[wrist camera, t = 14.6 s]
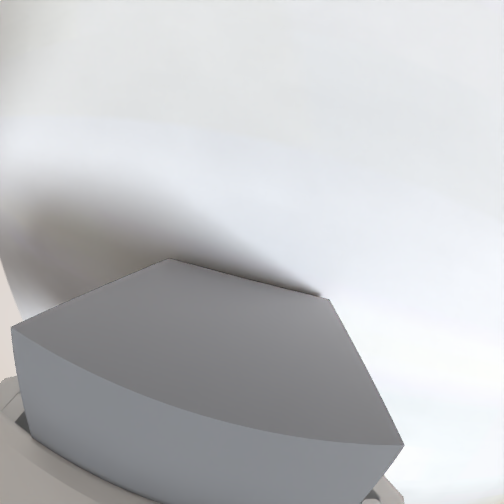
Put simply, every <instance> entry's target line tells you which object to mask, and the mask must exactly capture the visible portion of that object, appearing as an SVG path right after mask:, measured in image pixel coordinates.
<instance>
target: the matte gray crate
mask: <svg viewBox="0 0 504 504" xmlns="http://www.w3.org/2000/svg"><path fill="white" fill-rule="evenodd" d="M11 335H12V343H13V352H14V359H15V366H16V372H17V378H18V383H19V388H20V393H21V398H22V402H23V406H24V410H25V414H26V418H27V422H28V425H29V429H30V432H31V436H32V438H33V439H35V440H36V441H38V442H39V443H41V444H42V445H44V446H45V447H47V448H48V449H50V450H51V451H53V452H54V453H56V454H58V455H59V456H61V457H63V458H64V459H66V460H68V461H69V462H71V463H73V464H74V465H76V466H78V467H80V468H82V469H83V470H85V471H87V472H89V473H91V474H93V475H95V476H97V477H99V478H101V479H103V480H105V481H107V482H109V483H111V484H113V485H116V486H118V487H120V488H122V489H125V490H127V491H129V492H132V493H134V494H136V495H139V496H141V497H144V498H147V499H149V500H152V501H155V502H157V503H160V504H360V503H361V502H362V501H363V499H364V498H365V497H366V496H367V495H368V494H369V492H370V491H371V490H372V489H373V488H374V486H375V485H376V484H377V483H378V481H379V480H380V479H381V477H382V476H383V475H384V474H385V472H386V471H387V470H388V468H389V467H390V466H391V464H392V463H393V461H394V460H395V459H396V457H397V456H398V454H399V453H400V451H401V450H402V449H403V447H404V446H405V445H404V443H403V441H402V439H401V437H400V435H399V433H398V431H397V429H396V426H395V424H394V422H393V420H392V418H391V416H390V414H389V412H388V410H387V408H386V406H385V404H384V402H383V400H382V398H381V396H380V394H379V392H378V390H377V388H376V386H375V384H374V382H373V380H372V378H371V376H370V374H369V373H368V371H367V369H366V367H365V365H364V363H363V361H362V359H361V357H360V355H359V353H358V352H357V350H356V348H355V346H354V344H353V342H352V340H351V338H350V337H349V335H348V333H347V331H346V329H345V327H344V325H343V324H342V322H341V320H340V318H339V316H338V315H337V313H336V311H335V309H334V307H333V305H332V304H331V302H330V300H329V299H325V298H321V297H317V296H313V295H309V294H305V293H301V292H296V291H292V290H288V289H284V288H280V287H276V286H272V285H268V284H264V283H260V282H257V281H253V280H249V279H245V278H241V277H237V276H233V275H230V274H226V273H222V272H218V271H214V270H211V269H207V268H203V267H199V266H196V265H192V264H188V263H185V262H181V261H177V260H174V259H170V258H168V259H166V260H163V261H161V262H158V263H156V264H154V265H151V266H149V267H146V268H144V269H142V270H139V271H137V272H134V273H132V274H130V275H127V276H125V277H123V278H120V279H118V280H116V281H113V282H111V283H109V284H106V285H104V286H102V287H99V288H97V289H95V290H92V291H90V292H88V293H85V294H83V295H81V296H79V297H76V298H74V299H72V300H69V301H67V302H65V303H63V304H60V305H58V306H56V307H54V308H51V309H49V310H47V311H45V312H43V313H40V314H38V315H36V316H34V317H31V318H29V319H27V320H25V321H23V322H21V323H18V324H17V325H14V326H12V327H11Z"/></svg>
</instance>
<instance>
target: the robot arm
mask: <svg viewBox="0 0 504 504" xmlns="http://www.w3.org/2000/svg"><path fill="white" fill-rule="evenodd" d="M0 504H160V503H157V502H155V501H152V500H149V499H147V498H144V497H141V496H139V495H136V494H134V493H132V492H129V491H127V490H125V489H122V488H120V487H118V486H116V485H113V484H111V483H109V482H107V481H105V480H103V479H101V478H99V477H97V476H95V475H93V474H91V473H89V472H87V471H85V470H83V469H82V468H80V467H78V466H76V465H74V464H73V463H71V462H69V461H68V460H66V459H64V458H63V457H61V456H59V455H58V454H56V453H54V452H53V451H51V450H50V449H48V448H47V447H45V446H44V445H42V444H41V443H39V442H38V441H36V440H35V439H33V438H32V436H31V432H30V429H29V425H28V422H27V418H26V414H25V410H24V406H23V402H22V398H21V393H20V388H19V383H18V378H17V376H14V377H10V378H6V379H4V380H3V381H2V382H1V383H0ZM360 504H404V499H403V496H402V495H401V494H400V493H399V491H398V490H397V489H396V488H395V487H394V486H393V485H392V484H391V483H390V482H389V481H388V479H387V478H386V477H385V476H384V475H383V476H382V477H381V479H380V480H379V481H378V483H377V484H376V485H375V486H374V488H373V489H372V490H371V491H370V492H369V494H368V495H367V496H366V497H365V498H364V499H363V501H362V502H361V503H360Z"/></svg>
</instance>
